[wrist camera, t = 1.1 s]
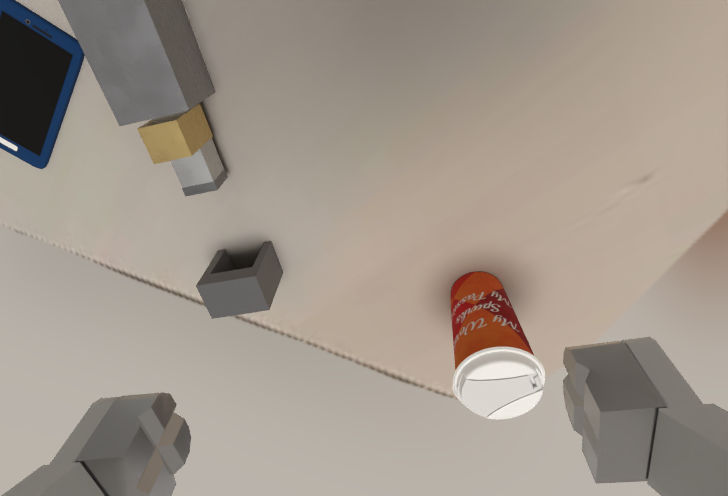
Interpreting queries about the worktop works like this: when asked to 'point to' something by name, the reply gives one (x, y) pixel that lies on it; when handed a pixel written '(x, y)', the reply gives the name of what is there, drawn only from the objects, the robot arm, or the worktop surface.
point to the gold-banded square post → (186, 149)
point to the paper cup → (491, 351)
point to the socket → (240, 284)
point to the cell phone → (34, 82)
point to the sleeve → (141, 55)
